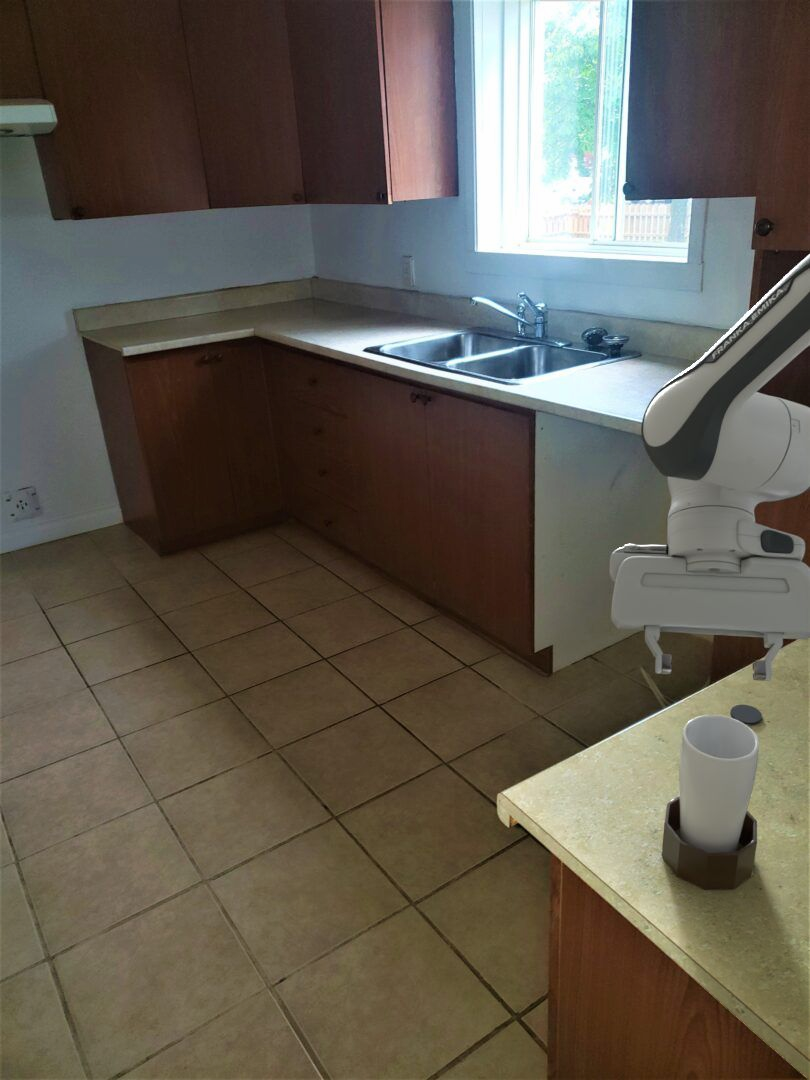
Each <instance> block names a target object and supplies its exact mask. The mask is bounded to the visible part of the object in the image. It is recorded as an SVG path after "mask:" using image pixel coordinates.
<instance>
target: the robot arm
mask: <svg viewBox="0 0 810 1080" xmlns="http://www.w3.org/2000/svg"><path fill="white" fill-rule="evenodd" d="M808 347H810V253H809V254H808V255H806V257H804V259H802V260H801V261H800V262H799V263H797V265H795V266H794V267H793V268H792V269H791V270H790V271H789V272H788V273H787V274H785V276H783V278H781V279H780V281H778V283H776V284H775V285H774V286H773V287H772V288H771V289H770V290H769V291H767V293H766V294H765V295H764V296H763V297H762V298H760V300H759V301H758V302H756V304H755V305H754V306H753V307H752V308H750V309H749V311H747V312H746V313H745V314H744V315H743V316H742V317H741V318H740V319H739V320H738V321H737V322H736V323H735V324H734V325H733V326H732V327H731V328H730V329H729V330H728V331H727V332H726V333H725V334H724V335H723V336H722V337H721V338H720V339H718V341H717V342H715V344H714V345H713V346H711V348H710V349H709V350H708V351H707V352H705V353H704V354H703V355H702V356H701V357H700V358H699V359H698V360H697V361H695V362H694V363H693V364H692V365H690V366H689V367H687V368H686V369H684V370H683V371H682V372H680V373H679V374H677V375H675V377H672V379H670V380H669V381H668V382H667V383H665V384H664V385H663V386H662V387H661V388H660V389H659V390H658V391H657V392H656V393H655V394H654V395H653V397H652V398H651V399H650V401H649V403H648V404H647V406H646V409H645V411H644V413H643V417H642V420H641V427H640V436H641V440H642V443H643V447H644V449H645V452H646V454H647V455H648V458H649V460H650V461H651V463H652V465H654V467H655V468H656V469H657V471H658V472H659V473H660V474H661V475H662V476H664V477H667V487H668V490H669V495H670V498H671V499H670V500H671V501H670V508H669V511H668V514H667V540H666V541H667V543H666V544H637V543H627V544H624V545H623V546H622V547H619V548H617V549H615V550H613V552H612V553H611V554H610V557H609V561H608V562H609V563H608V564H609V566H608V569H609V570H608V574H609V576H610V579H611V580H612V581H613V583H614V587H613V593H612V599H611V610H610V621H611V622H612V624H613V625H614V626H615V627H616V629H618V630H628V631H644V642H645V643H646V646H647V647H648V649H649V650H650V652H651V654H652V656H653V657H654V658H655V661H654V663H655V666H654V668H655V669H654V672H655V674H657V675H671V674H672V664H671V663H672V654H667V653H664V652H663V650H662V649H661V647H660V645H659V643H658V642H659V640H660V637H661V632H663V633H678V634H679V633H680V634H697V635H717V636H733V637H750V638H751V637H752V638H763V647H764V648H765V649H768V651H767V653H766V655H765V656H764V658H763V659H762V660H761V659H755V660H754V661H753V662H752V671H753V673H752V679H753V681H761V682H770V681H772V676H773V672H772V671H773V669H772V668H773V665H772V662H773V661H774V660H775V659H776V656H777V655H778V653H779V652H780V650H781V648H782V647H783V645H784V639H787V640H800V641H801V640H803V641H805V640H808V639H810V566H808V564H806V563H805V562H803V559H804V556H805V554H806V542H805V540H804V539H803V538H802V537H800V536H798V535H795V534H792V533H788V532H785V531H781V530H778V529H775V528H771V527H769V526H766V525H764V524H760V523H757V522H756V516H755V508H756V507H757V506H758V504H760V503H764V502H765V503H773V502H780V501H785V500H788V499H792V498H793V499H794V498H796V497H798V496H801V495H803V494H804V493H806V492H808V491H809V490H810V407H809V406H807V405H804V404H801V403H798V402H795V401H791V400H788V399H785V398H781V397H778V396H773V395H768V394H765V393H761V392H758V391H760V389H761V388H762V387H763V386H765V385H766V384H767V383H768V382H769V381H770V380H772V378H774V377H775V376H776V375H777V374H778V373H779V372H781V371H782V370H783V369H784V368H785V367H786V366H787V365H788V364H790V363H791V362H792V361H793V360H794V359H795V358H796V357H798V355H800V354H801V353H802V352H803V351H804V350H806V349H807V348H808Z"/></svg>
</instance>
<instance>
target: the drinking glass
mask: <svg viewBox="0 0 810 1080" xmlns="http://www.w3.org/2000/svg"><path fill="white" fill-rule="evenodd" d="M680 742H681V743H680V747H679V748H680V749H679V758H678V759H679V761H678V784H679V785H678V789H679V791H678V792H679V795H680V829H679V831H680V832H679V838H680V839H681V841H683V842H685V843H687V844H689V845H692V846H694V847H696V848H698V849H700V850H703V851H705V852H707V853H737V852H738V847H739V839H740V835H741V831H742V827H743V823H744V819H745V816H746V812H747V811H748V807H749V804H750V800H751V797H752V793H753V789H754V785H755V781H756V776H757V770H758V763H759V762H758V760H759V747H760V743H759V738H758V736H757V734H756V732H755V731H754V730H753V729H752V728H751V727H749V725H747V724H744V723H742V722H740V721H738V720H736V719H733V718H732V717H731V716H730V717H729V716H726V715H721V714H704V715H699V716H695V717H694V718H692V719H690V720H689V721H687V722H686V724H685V725H684V726H683V729H682V733H681V741H680Z"/></svg>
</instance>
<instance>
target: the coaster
mask: <svg viewBox="0 0 810 1080" xmlns="http://www.w3.org/2000/svg"><path fill="white" fill-rule="evenodd" d="M729 712H730V713H729V714H730V718H733V719H736V720H738V721H740V722H742V723H744V724H745V725H747V726H750V725H752V726H753V725H756V724H759V723H760V722H761V721H762V719H763V714H762V712H761V711H760V710H759V709H758V708H757V707H754V706H752V705H748V704H737V705H734V706H732V707H731V709H730V711H729Z"/></svg>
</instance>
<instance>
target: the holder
mask: <svg viewBox="0 0 810 1080" xmlns="http://www.w3.org/2000/svg"><path fill="white" fill-rule="evenodd" d="M678 831H680V794H679V795H677V796H676V797H674V798H673V799H671V800H670V801H668V802H666V808H665V815H664V822H663V833H662V834H663V835H662V848H661V857H662V858H663V860H664V862H666V864H667V866H668V867H669V868H670V870H671V871H672V873H674V875H675V876H676V877H677V878H678V879H681V880H683V881H685V882H687V883H690V884H691V885H694V886H696V887H698V888H700V889H702V890H703V891H713V890H714V891H715V890H716V891H717V890H721V891H722V890H735V889H736V888H737V887H739V886H740V885H742V884H743V883H744V882H746V881H747V880H748V879H749V878H751V877H752V876H753V872H754V864H755V857H756V851H757V844H758V820H757V819H756V818H755V817H754V816H753V814H751V813H750V812H749V810H747V812H746V816H745V819H744V823H743V827H742V831H741V835H740V839H739V843H738V845H740V846H741V847H742V848H741V849H739V850H737V853H707V852H705V851H703V850H700V849H698V848H696V847H694V846H692V845H689V844H687V843H685V842H683V841H681V839H680V836H679V835H678V834H677V833H676V832H678Z"/></svg>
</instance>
